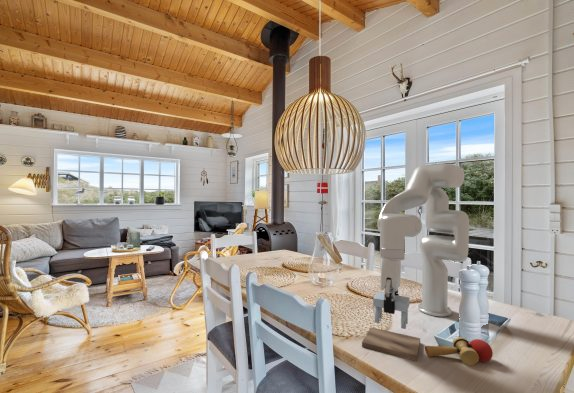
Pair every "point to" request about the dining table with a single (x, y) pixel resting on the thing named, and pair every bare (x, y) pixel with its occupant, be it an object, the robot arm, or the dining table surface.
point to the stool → (400, 305)
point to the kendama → (464, 350)
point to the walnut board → (392, 343)
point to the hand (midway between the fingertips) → (391, 308)
